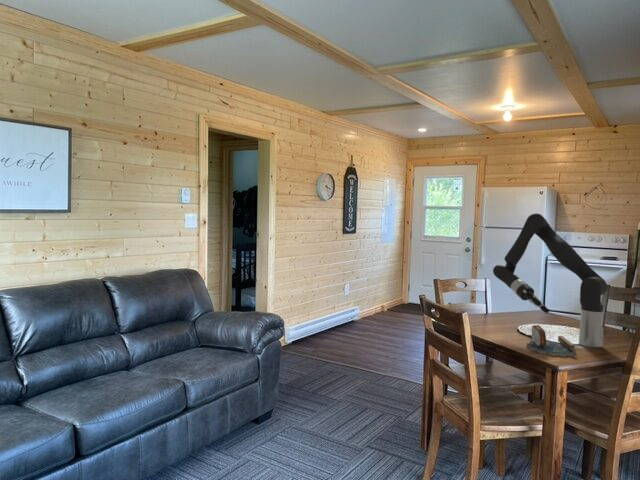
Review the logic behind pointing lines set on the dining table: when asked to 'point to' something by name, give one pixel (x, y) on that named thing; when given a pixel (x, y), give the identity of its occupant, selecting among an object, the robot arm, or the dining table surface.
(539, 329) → the tin
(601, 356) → the dining table surface
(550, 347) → the decorative tile
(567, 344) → the walnut stop strip
